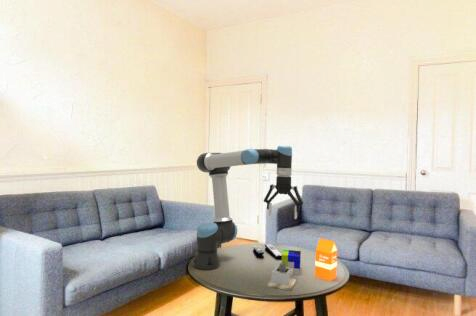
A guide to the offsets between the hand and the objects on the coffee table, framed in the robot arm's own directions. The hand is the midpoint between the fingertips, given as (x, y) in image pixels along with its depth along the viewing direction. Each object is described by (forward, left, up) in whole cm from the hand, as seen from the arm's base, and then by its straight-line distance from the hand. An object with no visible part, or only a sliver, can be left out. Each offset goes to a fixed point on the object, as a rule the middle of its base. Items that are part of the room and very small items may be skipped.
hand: (282, 217), depth 172 cm
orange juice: (+21, +14, -33) cm, 41 cm away
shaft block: (+2, -5, -33) cm, 33 cm away
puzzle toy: (+2, +15, -33) cm, 36 cm away
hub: (+2, -5, -31) cm, 32 cm away
